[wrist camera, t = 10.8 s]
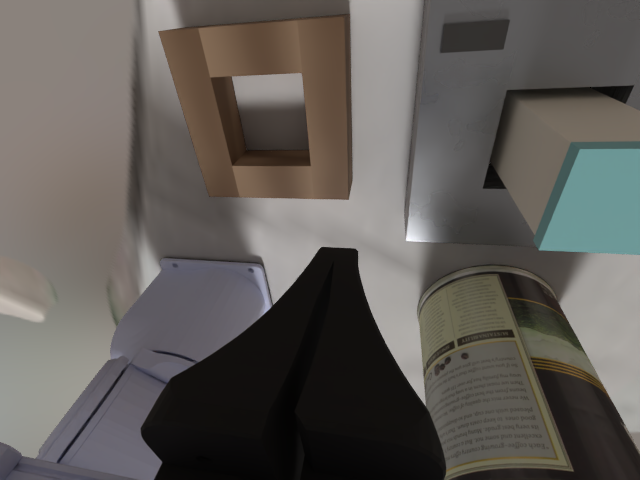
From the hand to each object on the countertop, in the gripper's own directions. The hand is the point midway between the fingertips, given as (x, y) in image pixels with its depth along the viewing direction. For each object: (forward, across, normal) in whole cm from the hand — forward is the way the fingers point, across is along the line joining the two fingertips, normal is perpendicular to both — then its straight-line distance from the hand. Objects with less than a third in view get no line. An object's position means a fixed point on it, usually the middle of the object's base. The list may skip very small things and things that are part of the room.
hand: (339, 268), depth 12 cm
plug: (+10, -9, -2) cm, 14 cm away
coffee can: (+11, -10, +13) cm, 19 cm away
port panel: (+10, -9, -2) cm, 14 cm away
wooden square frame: (+10, +5, -3) cm, 12 cm away
